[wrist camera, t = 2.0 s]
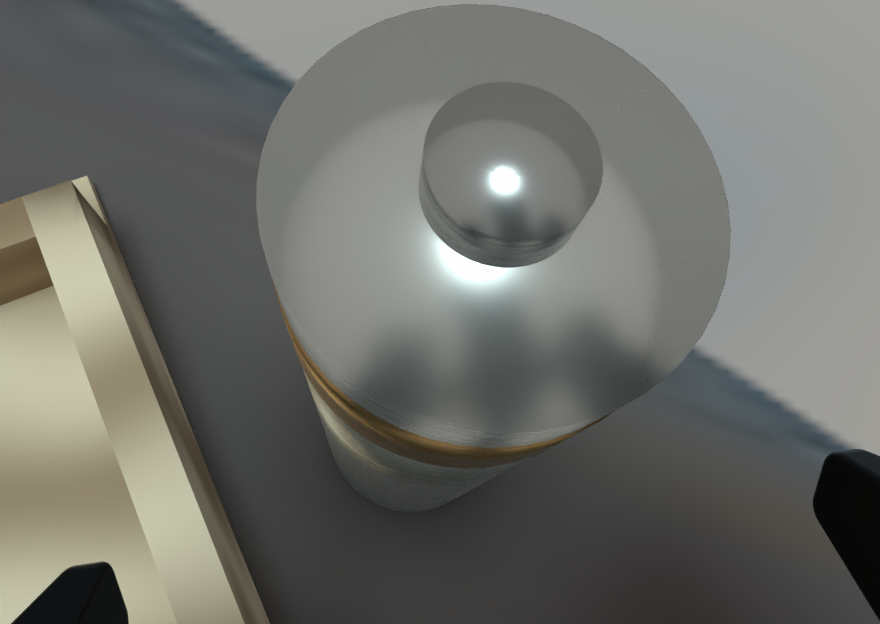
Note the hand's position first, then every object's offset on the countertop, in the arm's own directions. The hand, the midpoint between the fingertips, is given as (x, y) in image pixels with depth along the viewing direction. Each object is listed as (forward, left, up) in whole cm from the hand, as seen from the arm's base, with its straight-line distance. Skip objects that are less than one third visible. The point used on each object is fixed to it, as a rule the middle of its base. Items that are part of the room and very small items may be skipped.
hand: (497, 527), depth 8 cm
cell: (+3, -1, -10) cm, 10 cm away
